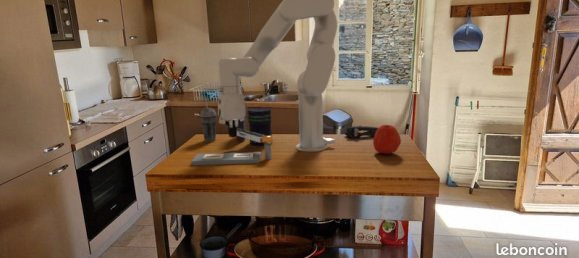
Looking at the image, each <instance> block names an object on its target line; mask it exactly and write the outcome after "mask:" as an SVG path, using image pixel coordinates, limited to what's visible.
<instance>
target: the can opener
mask: <svg viewBox="0 0 579 258" xmlns="http://www.w3.org/2000/svg"><path fill="white" fill-rule="evenodd" d="M378 128H379V127H377V126H365V125H362V124H361V125H358V126H355V125H354V126H348V127H347V128H346V132H345V133H344V135H345V136H346V137H349V138H352V139H357V138H360V137H373V138H374V136H375V133H376V131H377V129H378ZM362 131H363V132H362ZM374 131H375V132H374Z"/></svg>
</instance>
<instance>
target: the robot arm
mask: <svg viewBox="0 0 579 258" xmlns="http://www.w3.org/2000/svg"><path fill="white" fill-rule="evenodd" d="M334 7H335V0H282V1H281V2H280V3H279V5H278V6H277V8H276V9H275V11H274V12H273V14H272V15H271V16H270V17H269V19H268V20H267V22H266V23H265V24H264V26H263V27H262V28H261V29H260V32H259V33H258V35H257V37H256V38H255V40H254V41H253V43H252V45H251V46H250V47H249V49H248V50H247V51H246V53H245V55H244V56H243V57H239V58H236V57H223V58H220V59H219V60H218V69H219V70H218V72H219V73H218V74H219V76H218V77H219V88H217V89H216V90H217V92H218V93H220V94H219V95H218V102H217V117H218V119H219V120H218V123H219V124H221V125H225V126H226V127H227V132H228V137H229V138H236V137H237V127H238V124H239V123H240V122H241V121H243V120H244V118H245V116H246V117H247V114H246V112H245V105H246V104H245V99H244V96H243V92H242V93H241V88H240V87H241V83H240V79H241V78H240V77H246V78H251V77H255V75H257V74H258V72H259V70H260V67H261V66H262V64H263V62H264V61H266V59H267V57H268V56H269V55H270V54H271V53H272V51H275V49H276V48H277V47H278V46H279V45H280V43H281V42H282V41H283V39H284V38H285V36H286V35H287V34H288V32H289V31H290V30H291V28H292V27H293V26H294V24H295V23H296V22H297V20H298V21H300V20H306V19H312V18H313V20H314V30H313V33H312V37H311V40H310V43H309V46H308V48H307V52H306V61H307V64H306V67H305V70H303V71H302V72H301V73H300V74H299V76H298V78H297V82H296V83H297V84H296V85H297V86H296V87H297V97H298V129H299V130H298V131H299V134H298V135H299V143H297V144H296V145H295V149H296V150H298V151H301V152H320V151H324V150H326V149H328V146H327V145H328V144H329V145H335V144H336V141H335V138H325V137H324V122H323V121H324V117H323V115H324V112H323V110H324V109H323V108H324V107H323V105H324V104H323V93H324V92H325V91H326V90H327V87H328V85H329V82H330V78H331V74H332V73H333V72H332V71H333V68H334V66H335V62H336V50H335V49H334V47H333V46H334V42H335V38H336V34H337V31H338V20H337V16H336V13H335V10H334Z"/></svg>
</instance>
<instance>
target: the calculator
mask: <svg viewBox="0 0 579 258" xmlns="http://www.w3.org/2000/svg"><path fill="white" fill-rule="evenodd" d="M245 112H246V116H245V118H244V120H243V121H241V122H240V123H239V124H238V127H237V129H238V128H240V129H243V130H247V131H248V129H247V115H248V105H247V104H245ZM235 139H236V142H245V140H246V139H247V138H244V137H240V136H237V137H235Z"/></svg>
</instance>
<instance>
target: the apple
mask: <svg viewBox="0 0 579 258" xmlns="http://www.w3.org/2000/svg"><path fill="white" fill-rule="evenodd" d="M374 133H375V136H374V137H373V141H372V143H373V148H374V150H375V152H378V153H380V154H393V153H395V152H397V150H398V149H399V148H400V146H401V143H402V139H401V136H400V134H399V131H398V129H397V128H396V127H395V126H394V125H390V124H383V125H380V126H379V127H378V129H377V131H375V132H374Z"/></svg>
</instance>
